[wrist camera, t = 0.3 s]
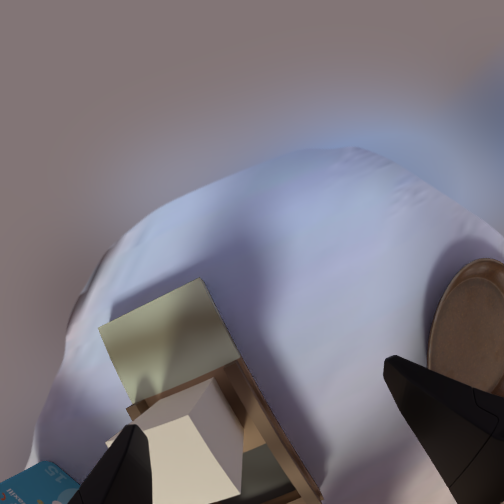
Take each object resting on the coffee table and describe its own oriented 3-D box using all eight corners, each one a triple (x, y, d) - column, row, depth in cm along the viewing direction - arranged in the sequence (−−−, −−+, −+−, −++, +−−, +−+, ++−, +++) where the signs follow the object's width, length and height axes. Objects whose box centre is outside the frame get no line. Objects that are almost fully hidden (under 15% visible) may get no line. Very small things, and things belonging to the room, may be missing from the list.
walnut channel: (319, 489, 20) (329, 510, 16) (226, 523, 19) (223, 546, 15) (203, 281, 25) (195, 273, 21) (107, 327, 24) (86, 327, 20)
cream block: (243, 429, 20) (240, 494, 10) (189, 449, 19) (156, 515, 10) (214, 376, 21) (188, 414, 11) (159, 399, 20) (105, 442, 11)
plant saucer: (528, 316, 24) (544, 313, 21) (471, 440, 21) (486, 446, 18) (455, 232, 27) (472, 223, 24) (379, 376, 23) (394, 382, 20)
